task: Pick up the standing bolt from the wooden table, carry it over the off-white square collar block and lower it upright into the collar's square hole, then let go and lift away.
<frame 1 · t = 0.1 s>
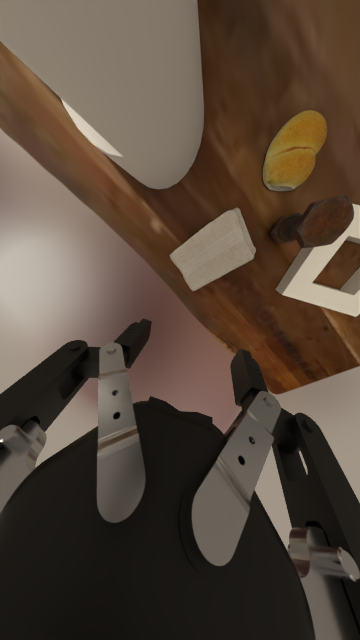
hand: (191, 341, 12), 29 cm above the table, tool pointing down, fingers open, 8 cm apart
bolt: (277, 231, 30), on the table
cylinder: (158, 128, 26), on the table
collar block: (336, 264, 30), on the table
washcloth: (211, 254, 35), on the table
bread roll: (288, 161, 25), on the table
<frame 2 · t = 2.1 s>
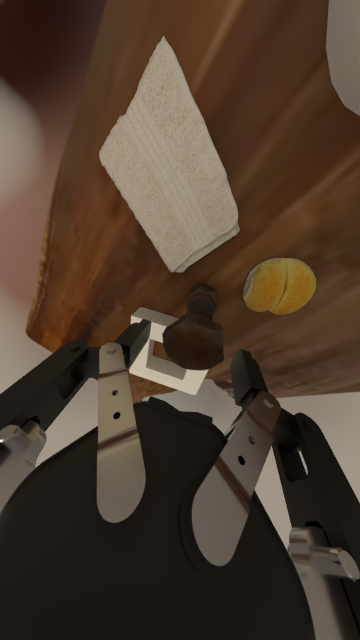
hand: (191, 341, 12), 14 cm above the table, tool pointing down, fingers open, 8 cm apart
bolt: (204, 292, 24), on the table
collar block: (172, 348, 32), on the table
washcloth: (175, 196, 19), on the table
bread roll: (271, 286, 22), on the table
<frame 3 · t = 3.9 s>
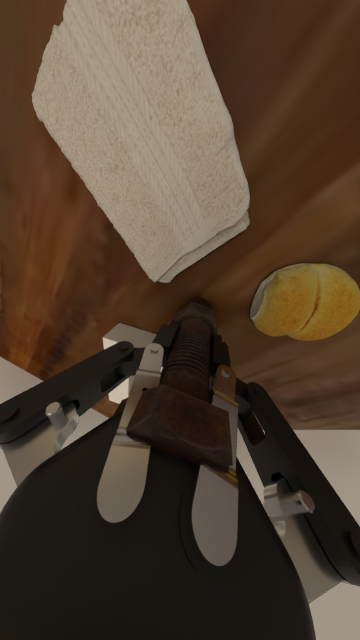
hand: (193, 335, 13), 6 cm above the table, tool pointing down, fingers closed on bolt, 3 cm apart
bolt: (199, 307, 18), on the table, touching gripper
collar block: (161, 371, 26), on the table
washcloth: (155, 173, 13), on the table
bread roll: (290, 301, 16), on the table
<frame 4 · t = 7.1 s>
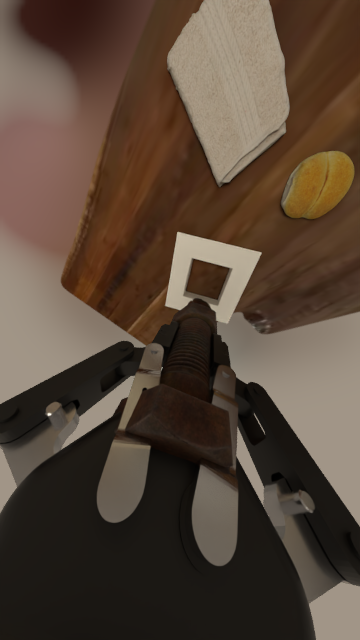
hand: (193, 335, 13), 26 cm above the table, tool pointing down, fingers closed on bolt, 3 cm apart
bolt: (199, 307, 18), point 19 cm above the table, touching gripper
collar block: (206, 279, 35), on the table
washcloth: (228, 104, 22), on the table
bread roll: (308, 192, 24), on the table
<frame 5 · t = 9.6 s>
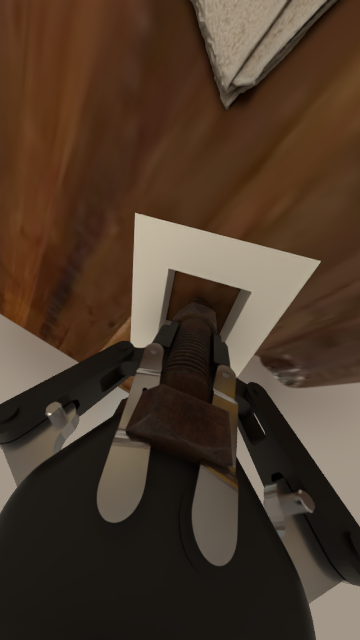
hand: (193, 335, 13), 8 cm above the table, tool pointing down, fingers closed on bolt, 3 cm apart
bolt: (199, 307, 18), point 2 cm above the table, touching gripper
collar block: (199, 303, 20), on the table
when the fingers open (7 cm above the table, at t = 10.6 s): bolt stays where it is, resting in collar block.
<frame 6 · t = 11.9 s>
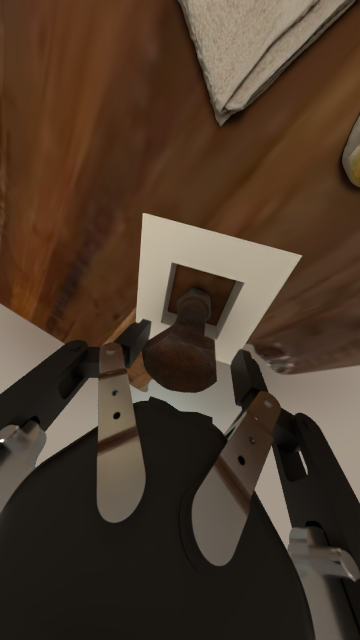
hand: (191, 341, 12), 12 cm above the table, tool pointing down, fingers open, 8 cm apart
bolt: (197, 295, 22), resting in collar block
collar block: (198, 295, 22), on the table
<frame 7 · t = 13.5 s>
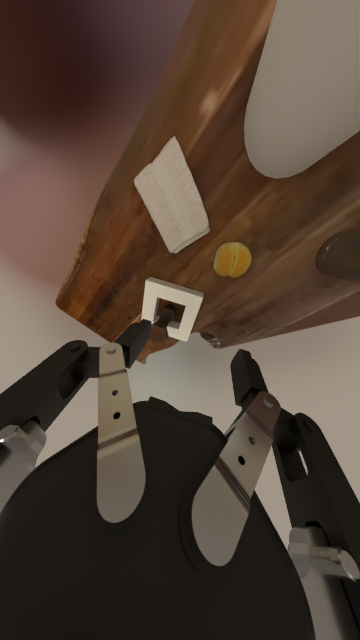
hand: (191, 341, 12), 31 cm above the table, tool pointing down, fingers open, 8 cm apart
bolt: (170, 308, 47), resting in collar block
cylinder: (298, 108, 23), on the table
collar block: (171, 308, 47), on the table
washcloth: (175, 207, 33), on the table
bread roll: (230, 260, 37), on the table
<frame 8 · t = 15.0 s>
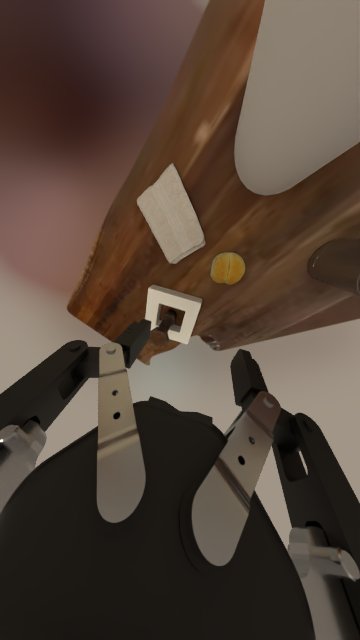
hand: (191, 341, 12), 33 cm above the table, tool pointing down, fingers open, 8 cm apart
bolt: (172, 313, 50), resting in collar block
cylinder: (282, 135, 26), on the table
collar block: (172, 313, 50), on the table
washcloth: (173, 222, 37), on the table
bread roll: (226, 268, 39), on the table
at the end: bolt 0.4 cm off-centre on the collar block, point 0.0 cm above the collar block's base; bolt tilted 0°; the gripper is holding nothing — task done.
